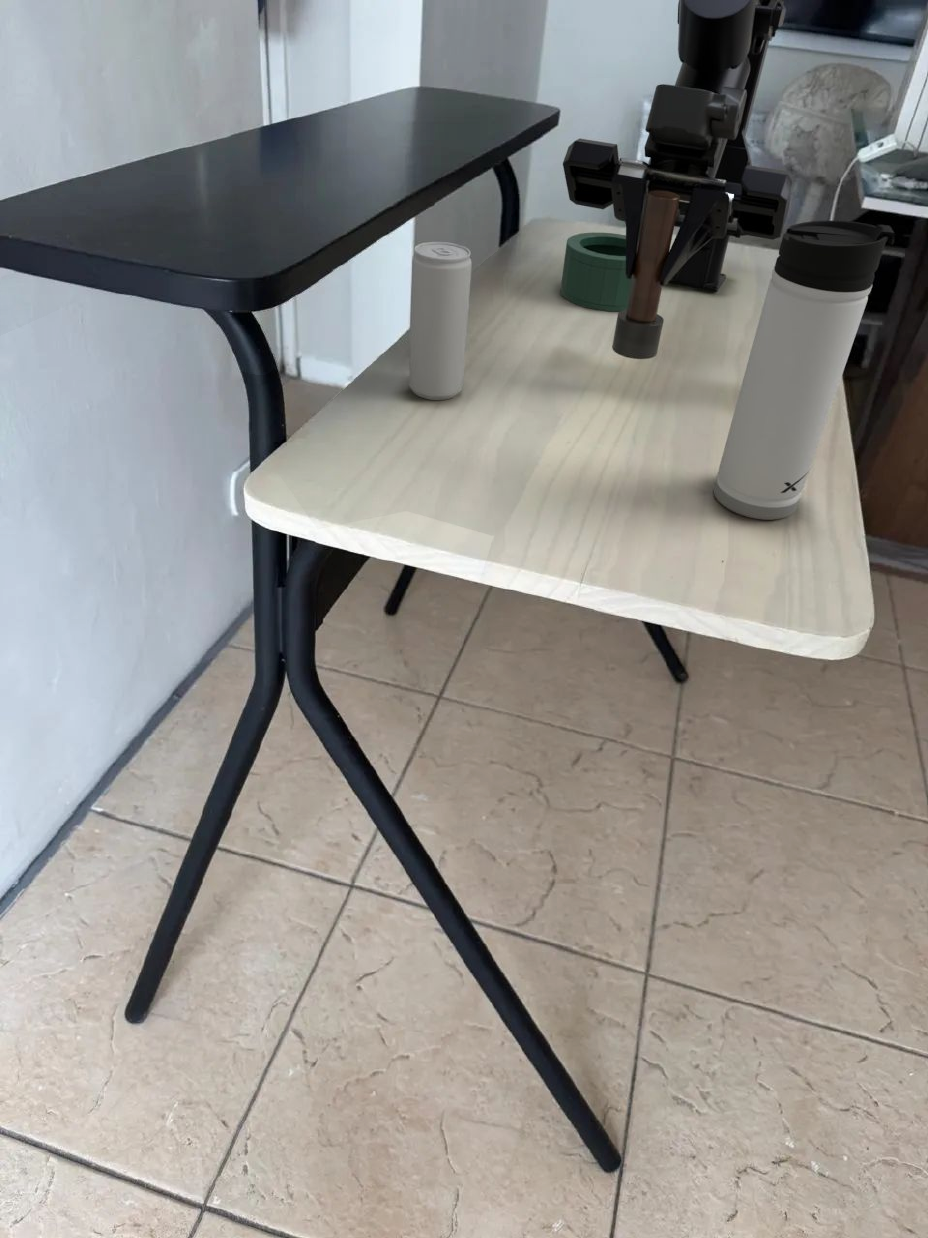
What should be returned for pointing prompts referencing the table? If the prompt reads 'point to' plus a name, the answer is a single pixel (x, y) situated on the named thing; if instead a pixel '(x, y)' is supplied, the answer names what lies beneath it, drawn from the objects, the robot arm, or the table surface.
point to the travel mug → (797, 363)
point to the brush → (647, 280)
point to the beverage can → (439, 319)
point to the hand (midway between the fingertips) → (644, 279)
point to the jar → (596, 271)
